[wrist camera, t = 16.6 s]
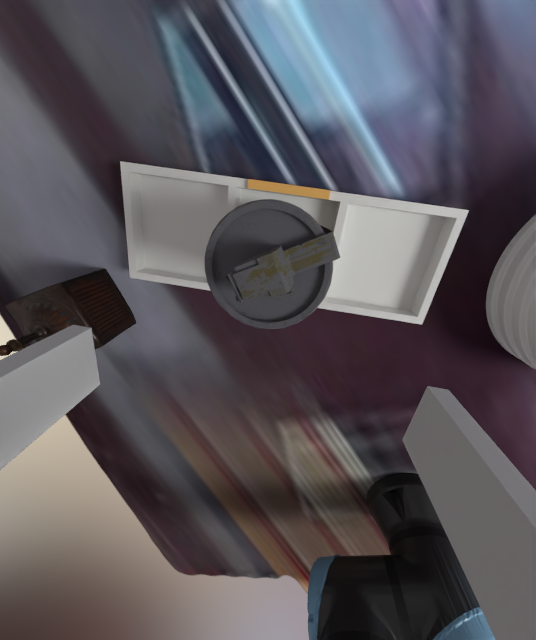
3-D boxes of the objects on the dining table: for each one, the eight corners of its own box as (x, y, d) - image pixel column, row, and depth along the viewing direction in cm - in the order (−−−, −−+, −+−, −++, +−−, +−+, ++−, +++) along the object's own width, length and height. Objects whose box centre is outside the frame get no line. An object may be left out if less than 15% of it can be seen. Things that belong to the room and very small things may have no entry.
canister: (260, 290, 39) (228, 358, 21) (232, 223, 36) (165, 234, 18) (329, 265, 37) (362, 318, 18) (306, 191, 33) (318, 164, 15)
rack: (452, 210, 33) (471, 210, 30) (411, 315, 39) (423, 326, 36) (136, 165, 35) (117, 160, 32) (142, 272, 41) (127, 278, 38)
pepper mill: (55, 287, 44) (-89, 332, 28) (106, 266, 42) (-19, 302, 25) (105, 361, 49) (8, 437, 33) (153, 347, 47) (74, 420, 30)
